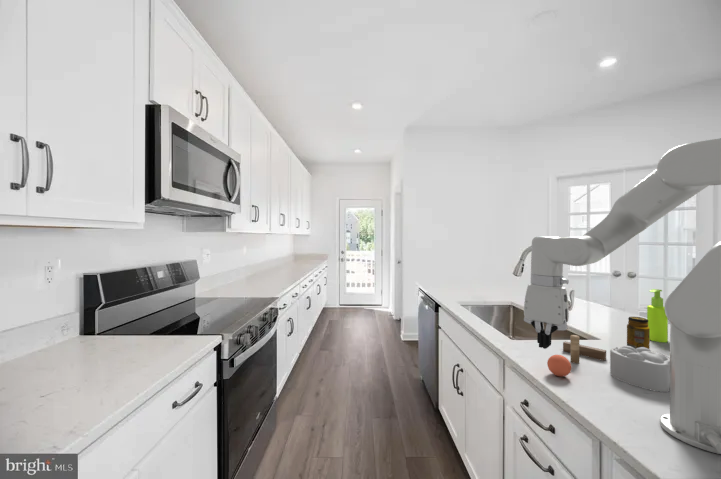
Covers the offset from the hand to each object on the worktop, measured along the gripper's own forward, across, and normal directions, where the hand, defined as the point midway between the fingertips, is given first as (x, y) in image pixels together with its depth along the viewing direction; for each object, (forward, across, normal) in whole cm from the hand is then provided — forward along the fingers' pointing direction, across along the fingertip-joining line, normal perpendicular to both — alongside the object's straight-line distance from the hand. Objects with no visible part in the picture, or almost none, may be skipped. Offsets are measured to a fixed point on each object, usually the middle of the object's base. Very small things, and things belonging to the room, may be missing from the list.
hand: (544, 346), depth 86 cm
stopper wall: (+10, -1, -34) cm, 36 cm away
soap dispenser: (+10, -15, -74) cm, 76 cm away
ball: (+8, -1, -10) cm, 12 cm away
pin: (+10, -1, -24) cm, 27 cm away
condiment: (+10, -12, -51) cm, 54 cm away
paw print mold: (+10, -17, -23) cm, 31 cm away
